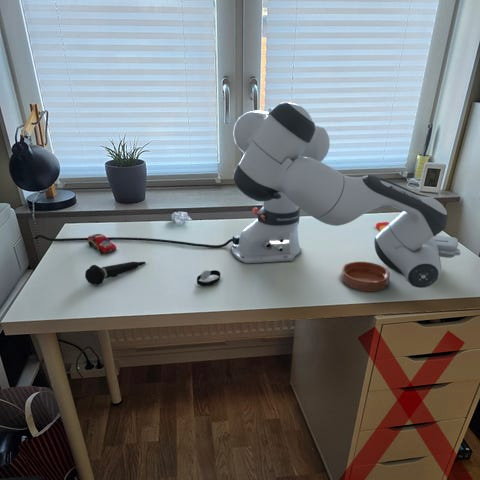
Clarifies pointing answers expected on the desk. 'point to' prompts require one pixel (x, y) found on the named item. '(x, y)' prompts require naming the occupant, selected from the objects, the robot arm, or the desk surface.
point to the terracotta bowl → (365, 276)
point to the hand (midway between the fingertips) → (418, 233)
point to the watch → (205, 275)
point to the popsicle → (381, 225)
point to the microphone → (109, 271)
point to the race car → (101, 244)
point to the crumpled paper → (180, 217)
